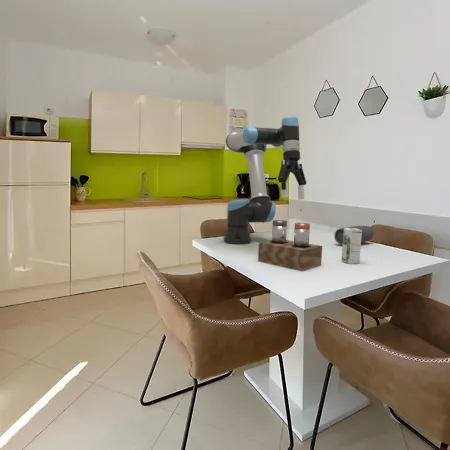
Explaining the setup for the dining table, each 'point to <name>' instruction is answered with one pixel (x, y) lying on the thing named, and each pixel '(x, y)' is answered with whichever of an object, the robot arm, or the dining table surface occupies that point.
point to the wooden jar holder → (290, 255)
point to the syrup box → (351, 245)
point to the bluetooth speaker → (366, 230)
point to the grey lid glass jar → (279, 231)
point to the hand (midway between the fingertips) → (293, 198)
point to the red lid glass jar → (301, 235)
